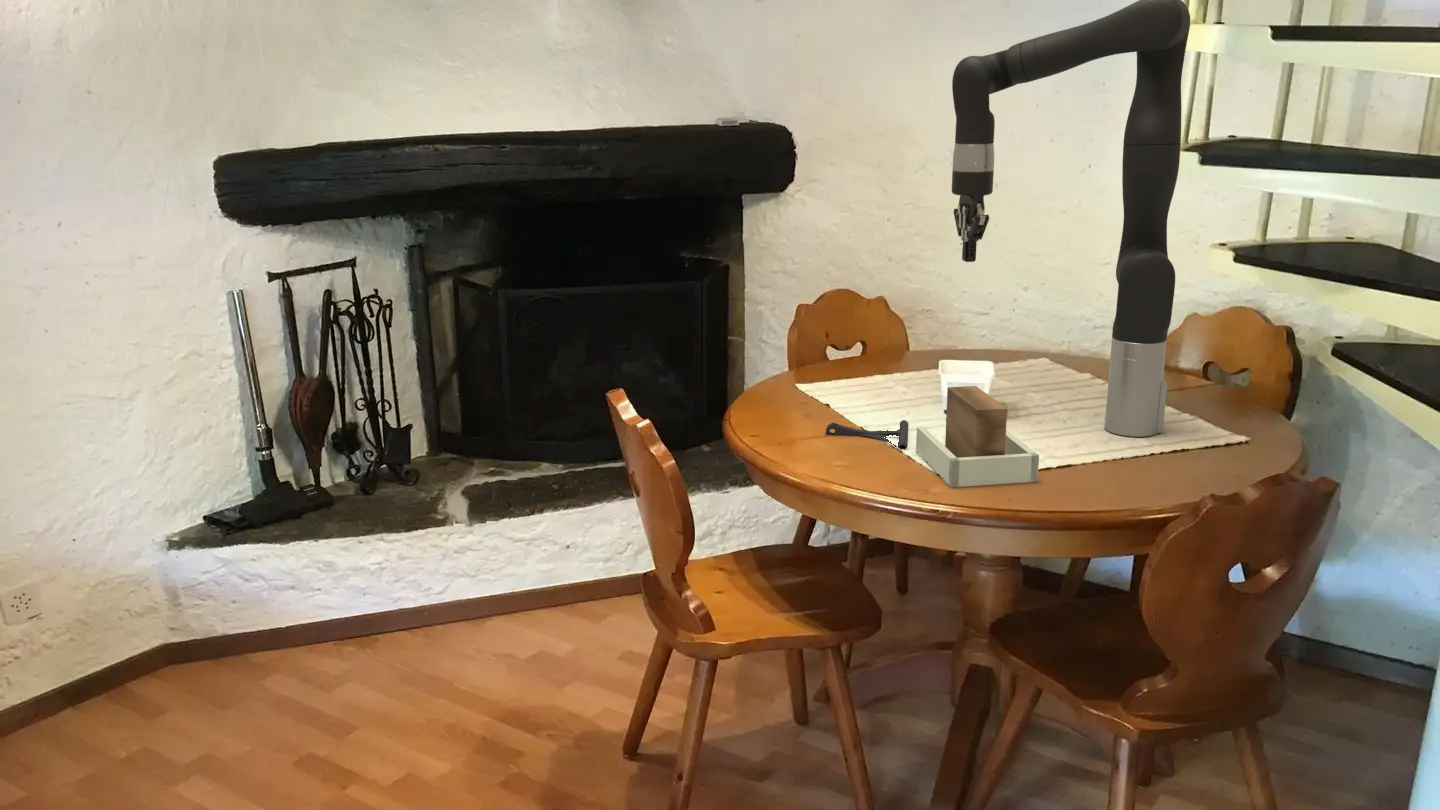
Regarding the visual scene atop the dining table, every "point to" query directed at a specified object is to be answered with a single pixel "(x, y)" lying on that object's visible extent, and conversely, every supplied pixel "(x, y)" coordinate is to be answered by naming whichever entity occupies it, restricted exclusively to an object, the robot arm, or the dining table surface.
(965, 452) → the walnut board
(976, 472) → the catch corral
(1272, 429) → the dining table surface
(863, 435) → the dark grey t-shaped piece
